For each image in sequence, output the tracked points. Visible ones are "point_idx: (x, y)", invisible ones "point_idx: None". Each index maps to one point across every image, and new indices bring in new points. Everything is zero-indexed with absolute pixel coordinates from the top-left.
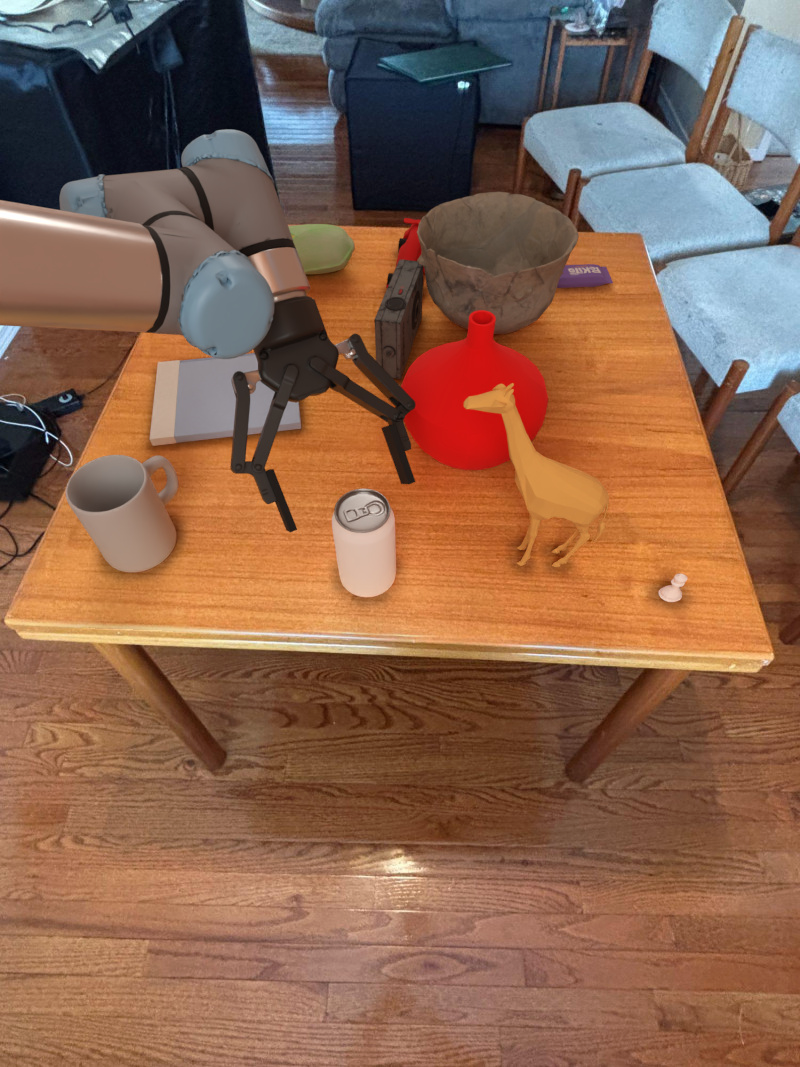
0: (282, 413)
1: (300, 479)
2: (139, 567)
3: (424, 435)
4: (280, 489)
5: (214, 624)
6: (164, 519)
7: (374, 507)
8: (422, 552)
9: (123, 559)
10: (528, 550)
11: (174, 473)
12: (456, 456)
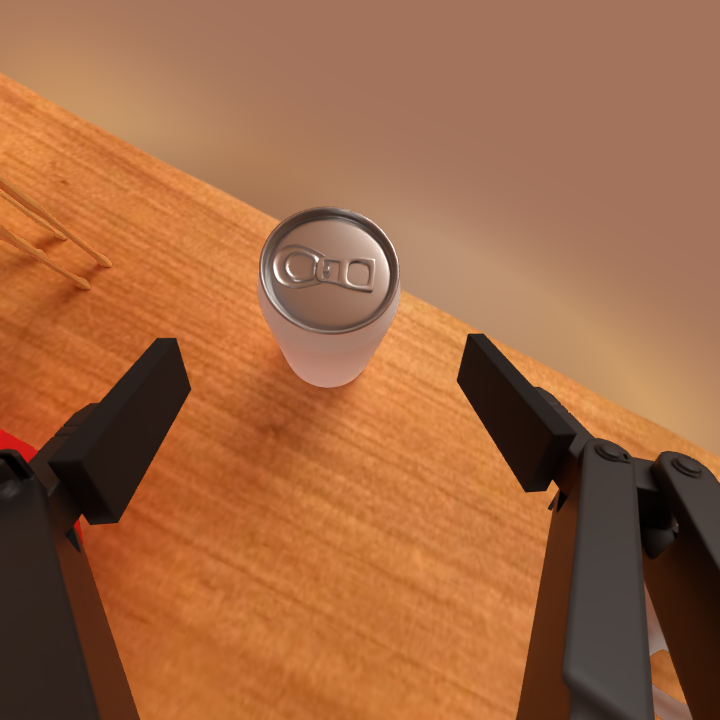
0: (568, 662)
1: (355, 602)
2: None
3: None
4: (519, 390)
5: (547, 367)
6: None
7: (298, 269)
8: (232, 347)
9: None
10: (73, 233)
11: None
12: (15, 445)
